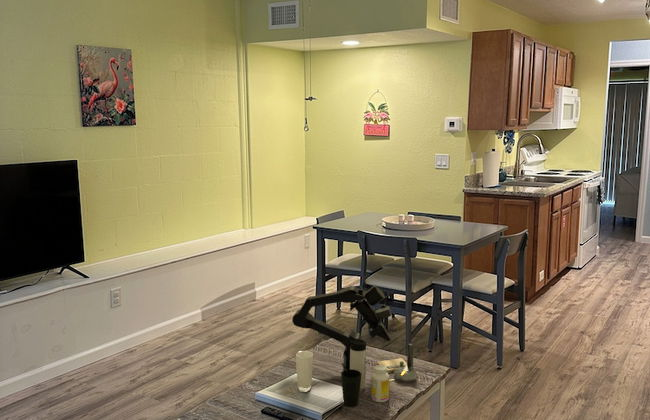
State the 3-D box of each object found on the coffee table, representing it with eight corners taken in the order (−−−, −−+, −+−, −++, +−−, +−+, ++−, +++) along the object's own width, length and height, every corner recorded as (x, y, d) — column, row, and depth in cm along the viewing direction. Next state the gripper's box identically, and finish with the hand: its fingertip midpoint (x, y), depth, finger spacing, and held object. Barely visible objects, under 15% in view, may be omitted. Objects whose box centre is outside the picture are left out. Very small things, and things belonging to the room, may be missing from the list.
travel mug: (346, 385, 238) (346, 338, 235) (361, 382, 241) (361, 336, 238) (353, 392, 233) (353, 344, 229) (368, 389, 235) (369, 341, 232)
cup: (361, 399, 228) (361, 369, 226) (360, 409, 220) (361, 378, 218) (341, 398, 229) (341, 368, 226) (339, 408, 221) (340, 377, 219)
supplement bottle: (390, 396, 230) (391, 365, 228) (386, 404, 224) (387, 372, 222) (373, 393, 233) (374, 362, 230) (369, 401, 226) (369, 369, 224)
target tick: (389, 381, 243) (389, 380, 242) (388, 380, 243) (388, 379, 243) (394, 380, 244) (394, 379, 243) (393, 379, 244) (393, 378, 244)
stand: (385, 373, 250) (385, 365, 249) (376, 364, 258) (376, 357, 258) (410, 369, 254) (411, 362, 253) (401, 360, 262) (401, 353, 262)
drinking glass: (305, 384, 240) (305, 349, 237) (316, 390, 235) (316, 354, 232) (292, 389, 235) (292, 353, 232) (304, 395, 230) (304, 359, 228)
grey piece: (411, 384, 240) (412, 356, 238) (390, 379, 244) (391, 352, 242) (421, 372, 251) (422, 345, 249) (400, 368, 255) (401, 341, 253)
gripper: (381, 306, 240) (405, 336, 241) (381, 294, 259) (404, 322, 259) (359, 322, 242) (384, 352, 242) (361, 310, 261) (384, 337, 261)
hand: (389, 340), depth 251 cm, fingers closed
